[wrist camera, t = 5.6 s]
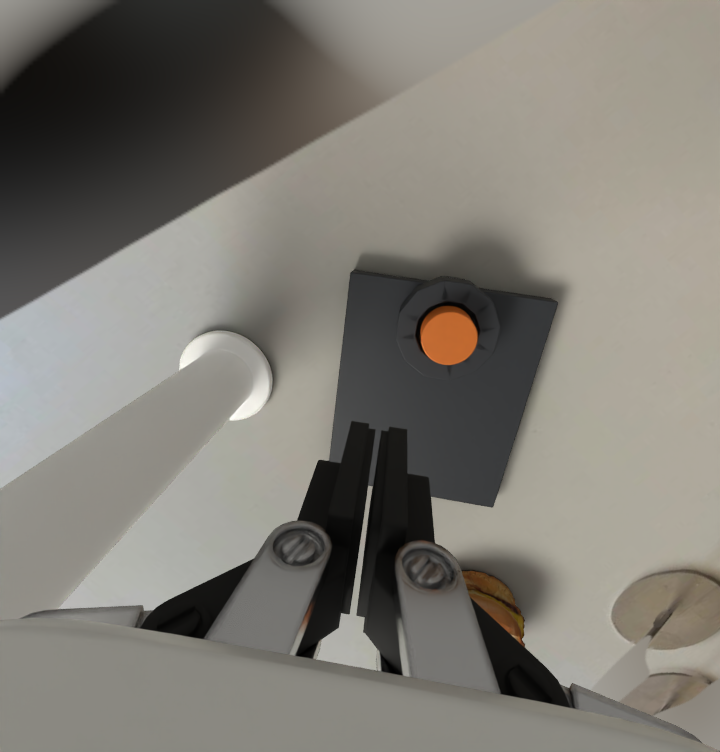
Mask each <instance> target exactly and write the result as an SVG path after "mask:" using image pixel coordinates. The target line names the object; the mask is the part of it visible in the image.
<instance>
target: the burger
mask: <svg viewBox="0 0 720 752" xmlns="http://www.w3.org/2000/svg"><path fill="white" fill-rule="evenodd" d="M462 574H463V577H464V580H465V584H466V587H467V590H468V593H469V596H470V597H471V598H472V599H473V600H474V601H475V602H476V603H477V604H478V605H479V606H480V607H481V608H483V609H484V610H485V611H486V612H487V613H488V614H489V615H490V616H491V617H492V618H493V619H494V620H495V621H497V622H498V623H499V624H500V625H501V626H502V627H503V628H504V629H505V630H506V631H507V632H508V633H510V634H511V635H512V636H513V637H514V638H515V639H516V640H517V641H518V642H519V643H520V644H521V645H522V646H524V647H525V644H524V643H523V641H522V638H523V636H524V630H523V629H524V621H525V620H524V617H523V616H522V615H521V611H520V610H519V608H518V607H517V606H516V605H515V599H514V598H513V595H512V593H511V591H510V590H509V588H508V587H507V586H506V585H505V584H503V583H502V582H501V581H499V580H498V579H496V578H495V577H494V576H488V575H487V574H486V573H482V572H476V571H462Z"/></svg>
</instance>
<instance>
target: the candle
mask: <svg viewBox="0 0 720 752" xmlns="http://www.w3.org/2000/svg"><path fill="white" fill-rule="evenodd" d="M272 384H273V378H272V372H271V368H270V365H269V363H268V361H267V359H266V357H265V355H264V354H263V353H262V351H261V350H260V349H259V348H258V347H257V346H256V345H255V344H254V343H253V342H251V341H250V340H249V339H247V338H245V337H243V336H241V335H239V334H237V333H233V332H229V331H211V332H207V333H204V334H202V335H200V336H198V337H196V338H195V339H193V340H192V341H191V342H190V343H189V344H188V345H187V346H186V348H185V349H184V351H183V353H182V356H181V359H180V364H179V371H178V372H177V373H175V374H174V375H172V376H171V377H169V378H167V379H166V380H164V381H163V382H161V383H160V384H158V385H157V386H155V387H154V388H152V389H151V390H149V391H148V392H146V393H145V394H143V395H142V396H140V397H139V398H137V399H136V400H134V401H133V402H131V403H130V404H128V405H127V406H125V407H124V408H122V409H121V410H119V411H118V412H116V413H115V414H113V415H111V416H110V417H108V418H107V419H105V420H104V421H102V422H101V423H99V424H98V425H96V426H95V427H93V428H92V429H90V430H89V431H87V432H86V433H84V434H83V435H81V436H80V437H78V438H77V439H75V440H74V441H72V442H71V443H69V444H68V445H66V446H65V447H63V448H62V449H60V450H58V451H57V452H55V453H54V454H52V455H51V456H49V457H48V458H46V459H45V460H43V461H42V462H40V463H39V464H37V465H36V466H34V467H33V468H31V469H30V470H28V471H27V472H25V473H24V474H22V475H21V476H19V477H18V478H16V479H15V480H13V481H12V482H10V483H9V484H7V485H6V486H4V487H2V488H1V489H0V620H9V619H19V618H21V617H24V616H26V615H28V614H30V613H33V612H39V611H44V610H56V609H58V608H59V607H60V606H61V605H62V604H63V602H64V601H65V600H66V599H67V598H68V597H69V596H70V595H71V594H72V592H73V591H74V590H75V589H76V588H77V587H78V586H79V585H80V584H81V582H82V581H83V580H84V579H85V578H86V577H87V576H88V575H89V574H90V573H91V571H92V570H93V569H94V568H95V567H96V566H97V565H98V564H99V563H100V561H101V560H102V559H103V558H104V557H105V556H106V555H107V554H108V553H109V551H110V550H111V549H112V548H113V547H114V546H115V545H116V544H117V543H118V541H119V540H120V539H121V538H122V537H123V536H124V535H125V534H126V533H127V531H128V530H129V529H130V528H131V527H132V526H133V525H134V524H135V523H136V522H137V520H138V519H139V518H140V517H141V516H142V515H143V514H144V513H145V512H146V510H147V509H148V508H149V507H150V506H151V505H152V504H153V503H154V502H155V500H156V499H157V498H158V497H159V496H160V495H161V494H162V493H163V492H164V490H165V489H166V488H167V487H168V486H169V485H170V484H171V483H172V482H173V480H174V479H175V478H176V477H177V476H178V475H179V474H180V473H181V472H182V471H183V469H184V468H185V467H186V466H187V465H188V464H189V463H190V462H191V461H192V459H193V458H194V457H195V456H196V455H197V454H198V453H199V452H200V451H201V449H202V448H203V447H204V446H205V445H206V444H207V443H208V442H209V441H210V439H211V438H212V437H213V436H214V435H215V434H216V433H217V432H218V431H219V429H220V428H221V427H222V426H223V425H224V424H225V423H226V422H227V421H228V420H241V419H245V418H248V417H250V416H252V415H254V414H256V413H257V412H258V411H259V410H260V409H261V408H262V407H263V406H264V405H265V403H266V402H267V401H268V399H269V397H270V394H271V391H272Z"/></svg>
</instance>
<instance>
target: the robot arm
mask: <svg viewBox="0 0 720 752" xmlns="http://www.w3.org/2000/svg"><path fill="white" fill-rule="evenodd" d="M375 431H376V429H370V428H369V423H362V422H355V421H351V425H350V429H349V433H348V437H347V441H346V445H345V448H344V452H343V456H342V460H341V463H337V462H331V461H324V460H319V461H318V463H317V465H316V468H315V471H314V474H313V477H312V479H311V482H310V485H309V488H308V491H307V494H306V497H305V500H304V502H303V505H302V508H301V511H300V514H299V517H298V520H297V521H291V522H288V523H285V524H282V525H280V526H279V527H277V528H276V529H274V531H273V532H272V533H271V534H270V535H269V536H268V538H267V540H266V541H265V543H264V544H263V546H262V547H261V549H260V551H259V552H258V554H257V555H256V557H255V558H254V559H252V560H250V561H248V562H246V563H244V564H242V565H240V566H238V567H236V568H234V569H232V570H229V571H227V572H225V573H223V574H221V575H219V576H217V577H215V578H213V579H211V580H209V581H207V582H205V583H203V584H201V585H198V586H196V587H194V588H192V589H190V590H188V591H186V592H184V593H182V594H180V595H178V596H176V597H174V598H172V599H169V600H168V601H166V602H164V603H163V604H161V605H160V606H158V607H156V608H155V609H154V610H152V611H144V609H143V605H138V606H118V607H97V608H76V609H56V610H44V611H39V612H33V613H30V614H28V615H26V616H24V617H21V618H19V619H9V620H0V752H720V751H719V750H716V749H714V748H712V747H709V746H707V745H705V744H703V743H702V742H701V741H700V740H698V739H697V738H696V737H695V736H694V735H692V734H690V733H689V732H687V731H685V730H683V729H682V728H680V727H678V726H676V725H673V724H671V723H668V722H666V721H663V720H661V719H659V718H656V717H654V716H651V715H649V714H646V713H644V712H642V711H639V710H637V709H634V708H632V707H629V706H627V705H624V704H622V703H620V702H617V701H615V700H612V699H610V698H607V697H605V696H602V695H600V694H598V693H595V692H593V691H590V690H588V689H585V688H583V687H581V686H578V685H576V684H573V683H572V684H571V686H570V688H567V687H565V686H562V685H560V684H559V682H558V680H557V679H556V678H555V677H554V676H553V674H552V673H551V672H550V671H549V670H548V669H547V668H546V667H545V666H544V665H543V664H542V663H541V662H540V661H539V660H538V659H536V658H535V657H534V656H533V655H532V654H531V653H530V652H529V651H528V650H527V649H526V648H525V647H524V646H522V645H521V644H520V643H519V642H518V641H517V640H516V639H515V638H514V637H513V636H512V635H511V634H510V633H508V632H507V631H506V630H505V629H504V628H503V627H502V626H501V625H500V624H499V623H498V622H497V621H495V620H494V619H493V618H492V617H491V616H490V615H489V614H488V613H487V612H486V611H485V610H484V609H483V608H481V607H480V606H479V605H478V604H477V603H476V602H475V601H474V600H473V599H472V598H471V597H470V596H469V593H468V590H467V587H466V584H465V580H464V577H463V574H462V571H461V568H460V566H459V564H458V562H457V560H456V559H455V557H454V556H453V555H452V554H451V553H450V552H449V551H448V550H446V549H445V548H443V547H442V546H440V545H438V544H435V540H434V528H433V516H432V505H431V493H430V482H429V477H427V476H420V475H414V474H408V466H407V429H402V428H395V427H389V430H388V431H383V430H381V436H380V443H379V449H378V456H377V462H376V469H375V476H374V482H373V489H372V495H371V502H370V509H369V517H368V525H367V533H366V542H365V550H364V558H363V566H362V574H361V583H360V591H359V599H358V607H357V616H361V617H365V621H364V630H363V632H364V633H366V635H367V636H368V637H369V639H370V640H371V641H372V643H373V644H374V645H375V646H376V648H377V655H376V665H377V671H375V670H370V669H364V668H359V667H353V666H348V665H343V664H337V663H332V662H326V661H321V660H316V659H317V656H318V653H319V650H320V646H321V640H322V639H323V638H324V637H326V636H327V635H328V634H330V633H331V632H333V631H334V630H336V629H337V628H339V622H340V616H341V613H344V614H350V607H351V601H352V594H353V587H354V580H355V573H356V566H357V559H358V553H359V546H360V539H361V532H362V525H363V518H364V511H365V504H366V497H367V489H368V482H369V475H370V467H371V460H372V453H373V446H374V438H375Z"/></svg>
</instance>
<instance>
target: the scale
mask: <svg viewBox="0 0 720 752" xmlns="http://www.w3.org/2000/svg"><path fill="white" fill-rule="evenodd" d="M557 305H558V302H557V301H555V300H553V299H551V298H544V297H537V296H530V295H523V294H517V293H510V292H503V291H496V290H489V289H482V288H477V287H476V286H475V285H474V284H473V283H471V282H470V281H469V280H465V279H458V278H451V277H444V276H443V277H438V278H436V279H433V280H431V281H427V280H420V279H413V278H406V277H399V276H393V275H386V274H379V273H372V272H365V271H358V270H353V271H352V272H351V273H350V282H349V291H348V300H347V309H346V317H345V326H344V335H343V344H342V353H341V361H340V370H339V379H338V388H337V397H336V405H335V414H334V423H333V432H332V441H331V449H330V458H329V461H331V462H337V463H341V460H342V456H343V452H344V448H345V445H346V441H347V437H348V433H349V429H350V425H351V421H355V422H362V423H369V428H370V429H376V431H375V438H374V446H373V453H372V460H371V467H370V475H369V482H368V485H369V486H373V482H374V476H375V469H376V462H377V456H378V449H379V443H380V436H381V430H383V431H388V430H389V427H395V428H402V429H407V466H408V474H414V475H420V476H427V477H429V482H430V493H431V497H436V498H442V499H447V500H453V501H459V502H464V503H470V504H475V505H481V506H487V507H493V506H494V503H495V500H496V497H497V493H498V490H499V487H500V484H501V481H502V478H503V475H504V471H505V468H506V465H507V462H508V459H509V456H510V453H511V449H512V446H513V443H514V440H515V437H516V434H517V431H518V428H519V424H520V421H521V418H522V415H523V412H524V409H525V406H526V402H527V399H528V396H529V393H530V390H531V387H532V384H533V380H534V377H535V374H536V371H537V368H538V365H539V362H540V358H541V355H542V352H543V349H544V346H545V343H546V340H547V336H548V333H549V330H550V327H551V324H552V321H553V318H554V315H555V311H556V308H557ZM442 306H455V307H458V308H460V309H462V310H464V311H465V312H466V313H467V314H468V315H469V316H470V318H471V320H472V321H473V323H474V325H475V327H476V329H477V333H478V341H477V345H476V347H475V350H474V351H473V353H472V354H471V355H470V356H469V357H468V358H467V359H465V360H464V361H462V362H460V363H457V364H453V365H443V364H439V363H436V362H434V361H433V360H431V359H430V358H429V357H428V356H427V355H426V354H425V352H424V350H423V348H422V344H421V334H420V330H421V325H422V322H423V320H424V319H425V317H426V316H427V315H428V314H429V313H430V312H431V311H432V310H434V309H436V308H438V307H442Z"/></svg>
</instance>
